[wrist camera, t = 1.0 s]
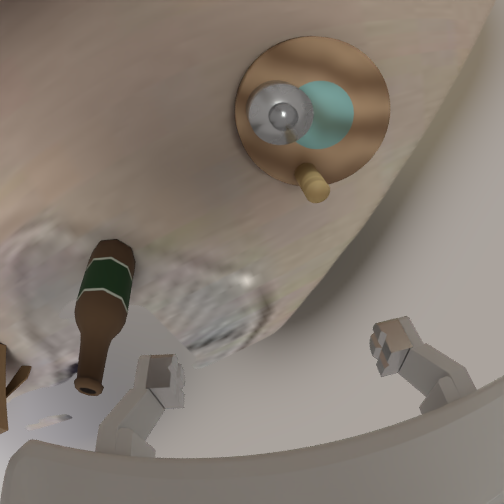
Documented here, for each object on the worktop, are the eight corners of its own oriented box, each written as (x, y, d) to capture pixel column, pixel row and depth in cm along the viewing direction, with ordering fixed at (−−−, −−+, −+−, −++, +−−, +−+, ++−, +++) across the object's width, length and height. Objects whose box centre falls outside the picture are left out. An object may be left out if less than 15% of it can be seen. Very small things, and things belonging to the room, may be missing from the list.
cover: (250, 76, 29) (256, 81, 26) (311, 85, 30) (323, 92, 27) (241, 133, 33) (245, 144, 30) (298, 139, 35) (308, 152, 32)
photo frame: (-15, 359, 64) (-29, 425, 46) (-6, 338, 57) (-25, 418, 39) (20, 378, 73) (10, 443, 55) (36, 361, 66) (24, 439, 48)
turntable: (248, 21, 26) (259, 18, 21) (397, 61, 30) (430, 72, 25) (225, 173, 39) (230, 201, 34) (359, 186, 43) (380, 212, 38)
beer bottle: (145, 262, 49) (132, 399, 31) (110, 277, 50) (89, 405, 32) (118, 229, 43) (85, 373, 26) (83, 248, 44) (45, 381, 27)
